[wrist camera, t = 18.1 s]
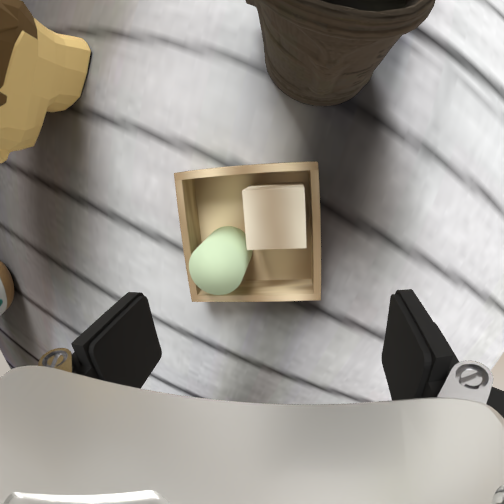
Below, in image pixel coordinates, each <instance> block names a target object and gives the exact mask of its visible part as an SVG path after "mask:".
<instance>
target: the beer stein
mask: <svg viewBox="0 0 504 504" xmlns="http://www.w3.org/2000/svg"><path fill="white" fill-rule="evenodd" d="M246 3H247V4H250V5H253V6H255V7H256V8H257V10H258V14H259V20H260V25H261V30H262V36H263V42H264V52H265V63H266V67H267V71H268V73H269V75H270V77H271V78H272V80H273V81H274V83H275V84H276V85H277V87H278V88H279V89H280V90H282V91H283V92H284V93H285V94H286V95H288V96H290V97H291V98H293V99H295V100H297V101H299V102H302V103H305V104H309V105H313V106H330V105H336V104H340V103H343V102H345V101H347V100H349V99H351V98H352V97H354V96H355V95H356V94H358V92H359V91H360V90H361V89H362V88H363V86H364V85H365V84H366V83H368V82H369V80H370V78H371V76H372V74H373V71H374V70H375V69H376V67H377V66H378V65H379V64H380V62H381V61H382V60H383V58H384V57H385V56H386V54H387V53H388V52H389V50H390V49H391V48H392V46H393V45H394V44H395V43H396V42H397V41H398V39H399V38H400V37H401V36H402V35H403V34H406V33H408V32H410V31H412V30H414V29H416V28H417V27H418V26H419V25H420V24H421V23H422V22H423V21H424V20H425V19H426V18H427V17H428V15H429V13H430V12H431V10H432V8H433V7H434V3H435V0H246Z"/></svg>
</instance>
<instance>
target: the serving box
mask: <svg viewBox="0 0 504 504" xmlns="http://www.w3.org/2000/svg"><path fill="white" fill-rule="evenodd" d="M174 178H175V187H176V196H177V204H178V213H179V220H180V228H181V235H182V242H183V249H184V256H185V263H186V269H187V275H188V281H189V287H190V293H191V299H192V302H267V301H308V300H321V222H320V192H319V172H318V162H315V161H313V162H288V163H270V164H255V165H242V166H230V167H220V168H210V169H200V170H192V171H185V172H179V173H174ZM283 182H302V183H303V185H304V189H305V212H306V247H307V248H295V249H264V250H253V252H252V257H251V259H250V262H249V264H248V267H247V269H246V272H245V274H244V276H243V279H242V281H241V283H240V285H239V286H238V287H237V288H236V289H235V290H234V291H232V292H230V293H228V294H224V295H213V294H209V293H207V292H205V291H203V290H202V289H200V288H199V287H198V286H197V285H196V284H195V283H194V281H193V280H192V278H191V275H190V272H189V260H190V257H191V255H192V253H193V252H194V250H195V249H196V248H197V247H198V246H199V245H200V244H201V243H202V242H203V241H204V240H205V239H206V238H207V237H208V236H209V235H210V234H211V233H212V232H214V231H215V230H216V229H218V228H220V227H224V226H233V227H236V228H239V229H241V230H242V231H244V232H245V222H244V209H243V197H242V190H244V189H245V188H247V187H248V186H250V185H251V184H263V183H283Z"/></svg>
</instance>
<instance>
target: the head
mask: <svg viewBox="0 0 504 504" xmlns="http://www.w3.org/2000/svg"><path fill="white" fill-rule="evenodd" d="M90 53H91V50H90V48H89V46H88V44H87V43H86V42H85V41H84V40H83V39H82V38H78V37H73V36H67V35H62V34H57V33H55V32H53V31H51V30H49V29H47V28H46V27H45V26H43V25H42V24H41V23H39V22H38V21H37V20H36V19H35V18H33V16H32V14H31V13H30V11H29V10H28V8H27V7H26V6H25V4H24V2H23V1H20V0H0V163H3V162H4V161H6V160H7V158H8V155H9V153H10V152H12V151H17V150H22V149H26V148H29V147H33V146H34V145H35V142H36V140H37V138H38V136H39V133H40V130H41V128H42V125H43V121H44V118H45V114H46V112H57V111H63V110H66V109H67V108H69V107H70V106H71V105H73V103H74V102H75V101H76V100H77V99H78V98H79V97H80V96H81V92H82V88H83V85H84V81H85V78H86V75H87V70H88V64H89V58H90Z"/></svg>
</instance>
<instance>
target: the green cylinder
mask: <svg viewBox="0 0 504 504" xmlns="http://www.w3.org/2000/svg"><path fill="white" fill-rule="evenodd" d="M252 252H253V250H247V246H246V234H245V232H244V231H242V230H241V229H239V228H236V227H233V226H224V227H220V228H218V229H216V230H215V231H214V232H212V233H211V234H210V235H209V236H208V237H207V238H206V239H205V240H204V241H203V242H202V243H201V244H200V245H199V246H198V247H197V248H196V249H195V250H194V252H193V253H192V255H191V257H190V260H189V272H190V275H191V278H192V280H193V281H194V283H195V284H196V285H197V286H198V287H199V288H200V289H202V290H203V291H205V292H207V293H209V294H213V295H224V294H228V293H230V292H232V291H234V290H235V289H236V288H237V287H238V286H239V285H240V283H241V281H242V279H243V276H244V274H245V272H246V269H247V267H248V264H249V262H250V259H251V257H252Z"/></svg>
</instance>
